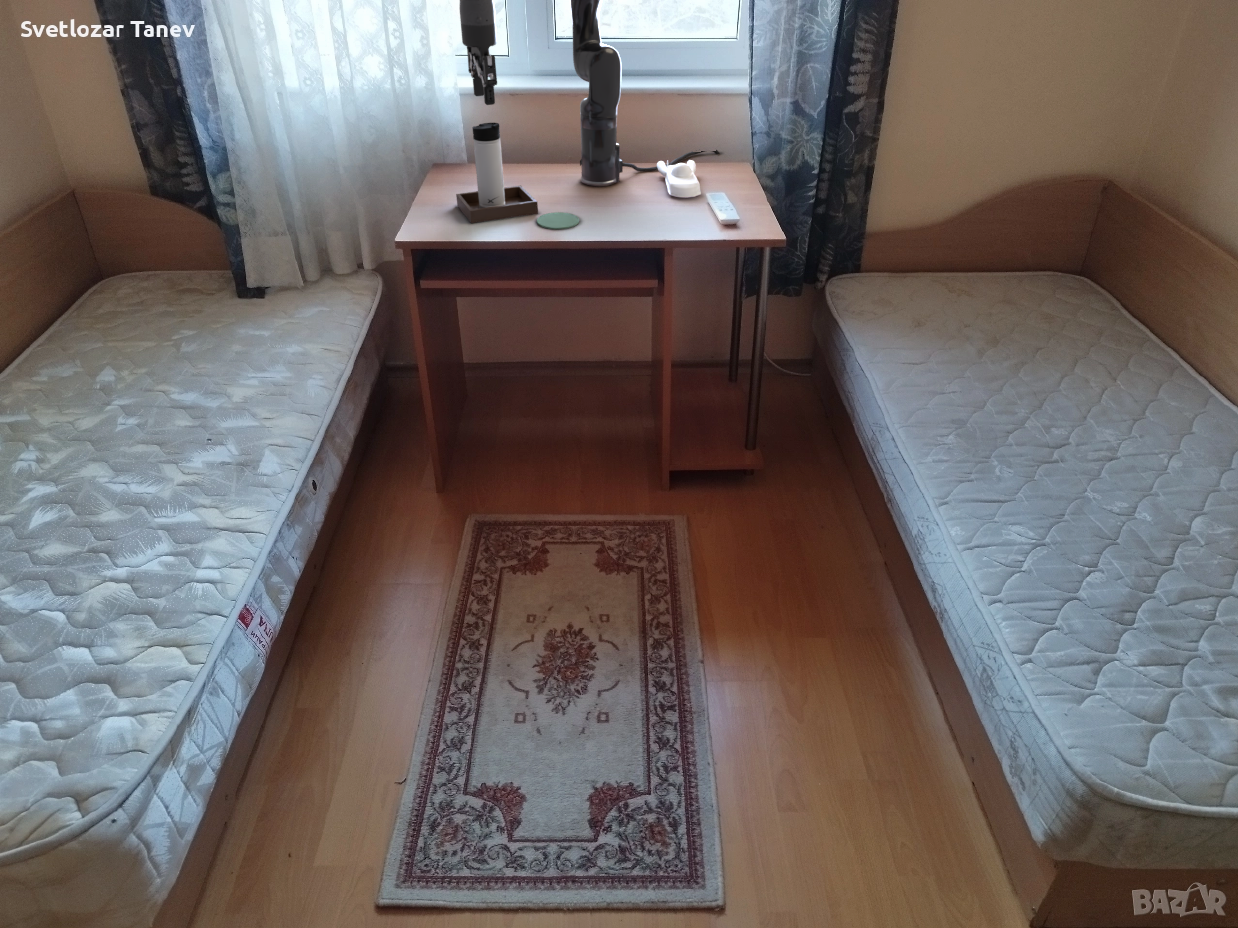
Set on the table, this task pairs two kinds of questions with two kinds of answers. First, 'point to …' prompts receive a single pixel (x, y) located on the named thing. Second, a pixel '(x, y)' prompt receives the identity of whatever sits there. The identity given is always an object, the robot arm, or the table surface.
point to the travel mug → (489, 165)
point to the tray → (515, 205)
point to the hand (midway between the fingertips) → (484, 100)
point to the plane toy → (680, 179)
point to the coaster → (558, 220)
